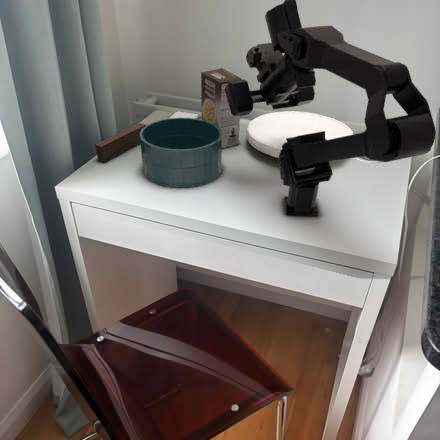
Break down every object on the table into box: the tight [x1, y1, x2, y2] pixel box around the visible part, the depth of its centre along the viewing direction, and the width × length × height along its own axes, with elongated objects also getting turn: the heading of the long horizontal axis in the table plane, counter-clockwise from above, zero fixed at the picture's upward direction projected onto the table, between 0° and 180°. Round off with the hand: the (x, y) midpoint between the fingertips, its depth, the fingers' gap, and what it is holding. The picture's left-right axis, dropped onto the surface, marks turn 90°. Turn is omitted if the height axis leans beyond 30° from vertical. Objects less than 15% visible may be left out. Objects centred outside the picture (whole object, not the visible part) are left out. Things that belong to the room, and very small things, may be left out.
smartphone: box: [166, 110, 200, 119], centre depth 125 cm, size 7×1×15 cm
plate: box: [245, 110, 354, 159], centre depth 114 cm, size 28×6×27 cm
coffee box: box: [200, 67, 243, 149], centre depth 112 cm, size 9×6×16 cm
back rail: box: [95, 122, 147, 164], centre depth 111 cm, size 2×16×4 cm, turn 148°
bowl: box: [139, 117, 223, 189], centre depth 103 cm, size 18×18×8 cm
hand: (254, 110), depth 100 cm, fingers open, 9 cm apart
